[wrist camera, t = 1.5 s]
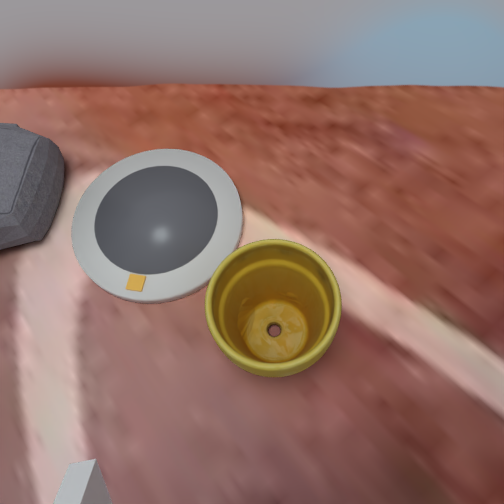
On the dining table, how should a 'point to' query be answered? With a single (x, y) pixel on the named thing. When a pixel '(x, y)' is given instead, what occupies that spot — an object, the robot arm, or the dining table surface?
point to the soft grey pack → (27, 185)
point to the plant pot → (273, 307)
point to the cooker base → (157, 225)
